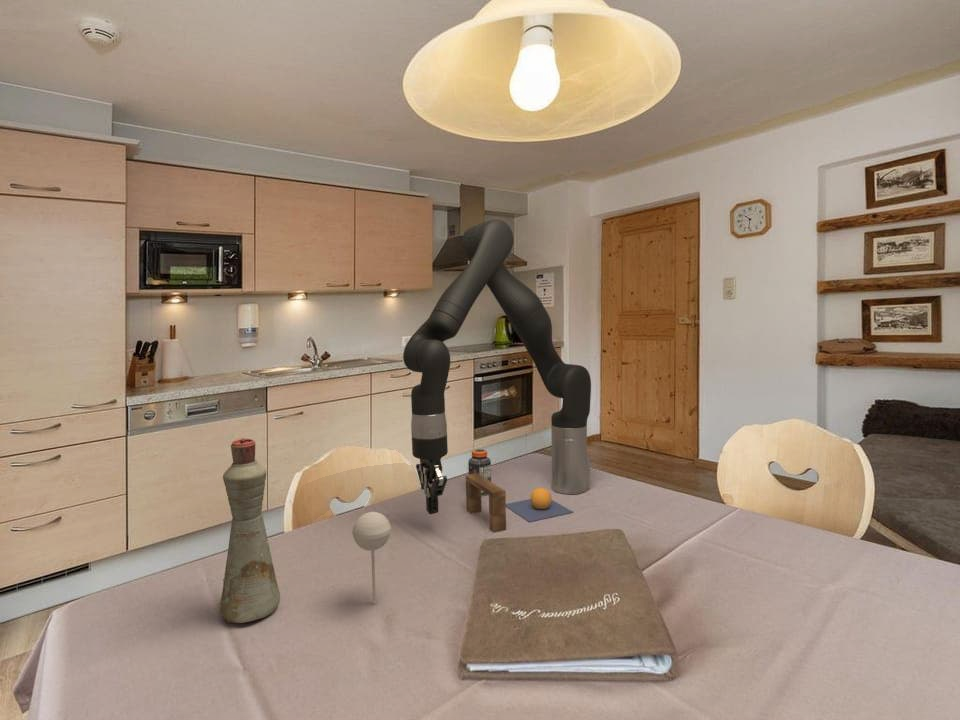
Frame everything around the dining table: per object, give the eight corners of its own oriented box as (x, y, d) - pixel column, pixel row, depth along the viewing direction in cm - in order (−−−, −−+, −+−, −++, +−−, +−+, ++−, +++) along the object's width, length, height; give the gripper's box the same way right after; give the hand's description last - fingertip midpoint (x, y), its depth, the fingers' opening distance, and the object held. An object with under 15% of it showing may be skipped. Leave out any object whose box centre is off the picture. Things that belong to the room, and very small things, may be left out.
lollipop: (401, 602, 82) (398, 512, 81) (370, 618, 78) (367, 523, 76) (378, 589, 86) (375, 503, 85) (348, 604, 82) (344, 513, 81)
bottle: (218, 634, 75) (206, 447, 72) (222, 603, 83) (211, 434, 81) (281, 619, 78) (272, 440, 76) (279, 591, 86) (270, 428, 84)
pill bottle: (465, 490, 135) (464, 449, 134) (485, 487, 137) (484, 446, 136) (474, 497, 130) (473, 454, 129) (495, 494, 132) (494, 451, 131)
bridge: (477, 508, 122) (477, 473, 121) (506, 529, 110) (505, 490, 109) (466, 510, 121) (465, 475, 120) (493, 532, 108) (493, 492, 108)
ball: (547, 495, 125) (537, 481, 123) (559, 501, 120) (548, 486, 119) (533, 509, 123) (522, 495, 122) (544, 516, 119) (534, 501, 117)
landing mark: (544, 496, 129) (544, 496, 129) (573, 512, 118) (573, 511, 118) (503, 505, 124) (503, 504, 124) (529, 522, 113) (529, 521, 113)
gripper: (458, 437, 103) (460, 519, 105) (434, 425, 115) (437, 499, 117) (423, 442, 100) (426, 527, 102) (402, 429, 112) (406, 505, 114)
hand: (432, 512), depth 109 cm, fingers closed
